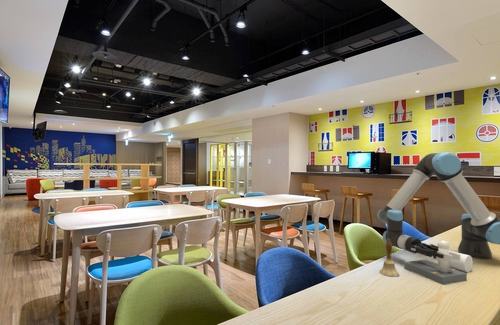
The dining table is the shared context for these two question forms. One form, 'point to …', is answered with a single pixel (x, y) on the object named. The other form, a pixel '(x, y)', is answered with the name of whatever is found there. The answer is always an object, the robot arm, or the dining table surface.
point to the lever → (442, 264)
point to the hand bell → (389, 262)
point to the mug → (462, 263)
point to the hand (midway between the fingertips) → (455, 258)
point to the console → (434, 272)
